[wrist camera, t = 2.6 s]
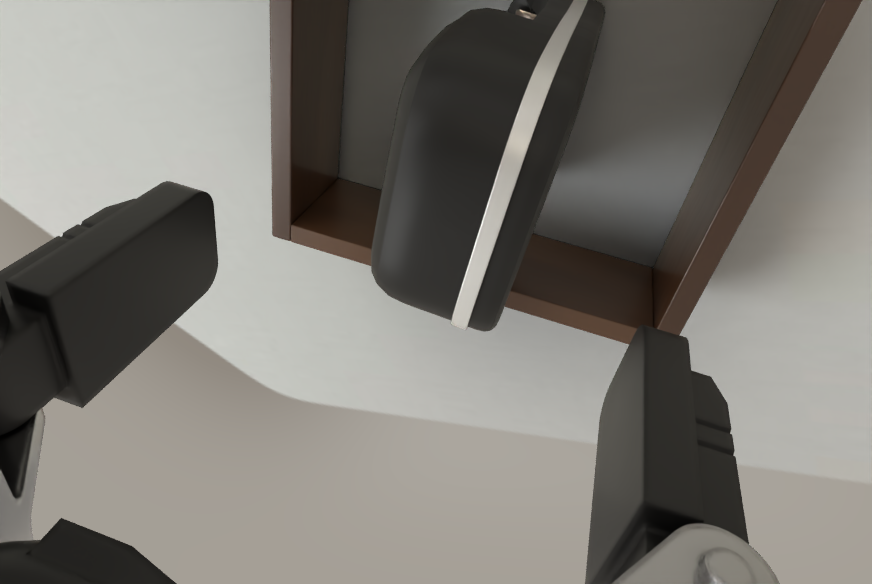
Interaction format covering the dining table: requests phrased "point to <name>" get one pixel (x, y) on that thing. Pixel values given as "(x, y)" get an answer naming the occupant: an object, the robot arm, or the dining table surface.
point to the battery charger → (479, 154)
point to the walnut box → (544, 258)
